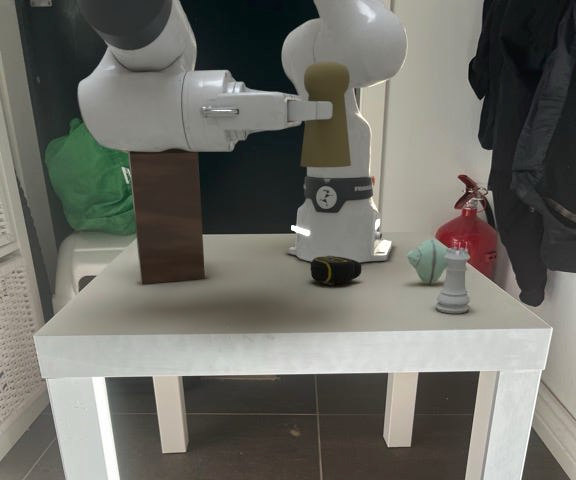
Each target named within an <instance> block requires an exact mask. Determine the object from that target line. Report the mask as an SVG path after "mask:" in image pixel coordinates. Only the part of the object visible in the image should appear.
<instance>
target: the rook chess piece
mask: <svg viewBox="0 0 576 480" xmlns="http://www.w3.org/2000/svg"><path fill="white" fill-rule="evenodd" d="M447 248H448V247H447ZM444 257H445V259H446V260H447V266H446V267H445V269H444V270H445V271H446V272H445V277H444V278H445V279H444V282H443V287H442V289H441V290H440V293H438V294H437V297H436V301H437V303H435V308H436V309H437V310H438V311H439V312H441V313H445V314H453V315H455V314H464V313H467V312H468V310H470V307H471V306H470V305H469V303H470V302H471V298H470V296H469V295H468V291H467V288H466V272H467V270H468V268H467V265H466V264H467V262H468V261H469V260H470V259H471V256H470V254H469V249H468V248H464V247H460V248H459V250H458V247H449V248H448V253H447V254H446V255H445V256H444Z"/></svg>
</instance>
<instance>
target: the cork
mask: <svg viewBox="0 0 576 480" xmlns="http://www.w3.org/2000/svg"><path fill="white" fill-rule="evenodd" d="M349 83H350V75H349V71H348V69H347V67H346V66H345V65H343V64H340V63H336V62H319V63H315V64H312V65H310V66H308V67H307V69H306V71H305V74H304V86H305V89H306V91H307V93H308V94H309V97H308V101H313V102H331V103H332V104H333V116H332V118H331V119H316V120H306V122H305V121H304V130H303V131H304V132H303V140H302V149H301V156H300V164H299V166H300V167H303V168H307V167H346V166H351V159H350V149H349V138H348V128H347V117H346V107H345V97H344V94H345V92H346V91H347V89H348V87H349Z"/></svg>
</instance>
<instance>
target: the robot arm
mask: <svg viewBox="0 0 576 480" xmlns="http://www.w3.org/2000/svg"><path fill="white" fill-rule="evenodd" d="M76 3H77V6H78V9H79V11H80V13H81V15H82V16H83V18H84V19H85V21H86V22H87V23H88V24H89V26H91V28H92V29H93V30H94V31H95V32H96V34H98V36H99V37H100V38H101V39H102V40H103V41H104V43H105V44H106V45H107V48H106V51H105V53H104V55H103V57H102V58H101V60H100V62H99V64H98V65H97V66H96V67H95V69H94V70H93V71H92V72H91V74H89V75H88V76H87V77H85V78H84V79H82V80H80V81H79V83H78V86H77V92H76V93H77V95H76V99H77V105H78V111H79V114H80V117H81V119H82V122H83V124H84V127H85V128H86V130H87V132H88V133H89V135H90V136H91V137H92V138H93V139H94V140H95V142H96V143H98V144H99V145H100V146H102V147H104V148H107V149H112V150H116V151H121V150H124V151H137V152H161V151H164V150H167V149H172V148H178V149H183V150H186V151H190V152H198V153H199V152H200V153H201V152H202V153H204V152H210V153H211V152H212V153H213V152H214V153H215V152H221V153H224V152H227V153H228V152H230V153H231V152H232V151H234V149H235V147H236V144H237V143H238V142H239V141H246V140H247V138H248V136H249V135H250V134H253V133H254V134H255V133H260V132H266V131H280V130H284V129H290V128H294V127H298V126H301V124H302V122H304V123H305V122H306V120H316V119H331V118H332V116H333V104H332V103H331V102H313V101H308V97H309V94H308V93H307V91H306V89H305V86H304V74H305V71H306V69H307V67H308V66H310V65H312V64H315V63H319V62H336V63H340V64H343V65H345V66H346V67H347V69H348V71H349V75H350V83H349V87H348V89H347V91H346V92H345V94H344V97H345V107H346V117H347V128H348V138H349V149H350V159H351V166H346V167H306V175H305V177H304V182H303V197H304V198H305V200H304V202H303V203H302V205H300V206H299V207H298V209H297V214H296V224H295V225H291V231H294V232H295V241H294V242H295V243H294V245H293V246H290V247H289V248H288V254H290V255H293V256H296V257H297V258H298V259H300V260H302V261H306V262H310V263H311V262H312V260H313V259H314V258H316V257H323V256H335V257H343V258H348V259H352V260H355V261H357V262H359V263H360V264H361V263H367V262H384V261H387V260H388V258H389V255H390V253H391V251H392V248H393V242H392V240H387V239H382V238H383V234H382V216H381V214H380V212H379V210H378V208H377V206H376V204H375V202H374V200H373V196H374V188H375V184H376V179H375V175H374V176H373V175H371V158H372V154H371V153H372V135H373V134H372V128H371V126H370V124H369V122H368V121H367V120H366V119H365V118H364V117H363V115H362V114H361V112H360V109H359V107H358V104H357V99H356V93H355V89H362V88H370V87H373V86H377V85H379V84H382V83H385V82H386V81H389V80H390V79H392V78H394V77H395V76H397V75H398V74H399V73H400V71H401V69H402V68H403V66H404V64H405V61H406V58H407V56H408V55H407V54H408V47H409V46H408V45H409V44H408V36H407V31H406V28H405V26H404V23H403V21H401V18H399V16H397V14H395V13H394V12H393V11H392V10H391V9H389V7H388V6H387V5H386V4H385V2H384V0H313V4H314V5H315V8H316V9H317V13H318V15H319V17H318V18H313V19H309V20H307V21H305V22H304V23H302V24H300V25H299V26H298V27H296V28H295V29H293V30H292V31H290V32H289V34H288V35H287V36H286V38H285V39H284V41H283V45H282V47H281V48H282V49H281V64H282V68H283V71H284V74H285V76H286V77H287V78H288V80H290V82H291V83H292V84H293V86H294V88H295V90H296V93H297V94H291V93H285V92H280V91H266V90H258V89H251V88H249V87H247V86H246V84H245V82H244V81H236V80H235V78H234V77H233V75H232V73H231V71H230V70H228V69H216V70H215V69H211V70H209V69H208V70H196V65H197V60H198V59H197V58H198V47H197V41H196V37H195V33H194V32H193V31H194V30H193V29H192V26H191V24H190V21H189V20H188V19H189V18H188V16H187V14H186V13H185V11H184V9H183V6H182V3H181V1H180V0H76Z"/></svg>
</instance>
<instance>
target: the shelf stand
mask: <svg viewBox="0 0 576 480" xmlns="http://www.w3.org/2000/svg"><path fill="white" fill-rule="evenodd" d="M120 152H121V153H125V154H126V155H128V164H129V174H130V184H131V186H130V187H131V194H132V195H131V196H132V205H133V216H134V225H135V227H134V228H135V237H136V247H137V257H138V258H137V259H138V268H139V278H140V283H141V285H150V284H161V283H173V282H183V281H192V280H193V281H194V280H195V281H196V280H205V279H206V272H205V271H206V270H205V255H204V237H203V235H204V233H203V220H202V217H203V216H202V202H201V201H202V200H201V186H200V185H201V183H200V168H199V167H200V166H199V152H190V151H186V150H183V149H178V148H172V149H167V150H164V151H161V152H137V151H124V150H120Z"/></svg>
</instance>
